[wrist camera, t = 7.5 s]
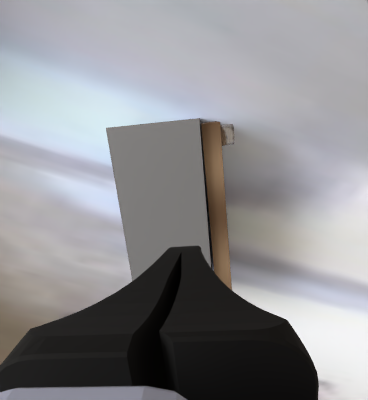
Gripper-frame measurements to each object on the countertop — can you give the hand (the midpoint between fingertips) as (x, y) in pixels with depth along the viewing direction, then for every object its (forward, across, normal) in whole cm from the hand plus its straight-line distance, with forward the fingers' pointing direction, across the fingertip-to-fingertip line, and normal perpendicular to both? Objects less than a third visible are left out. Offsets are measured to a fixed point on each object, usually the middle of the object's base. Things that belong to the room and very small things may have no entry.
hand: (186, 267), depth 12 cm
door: (+10, -2, 0) cm, 10 cm away
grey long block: (+10, +2, 0) cm, 10 cm away
